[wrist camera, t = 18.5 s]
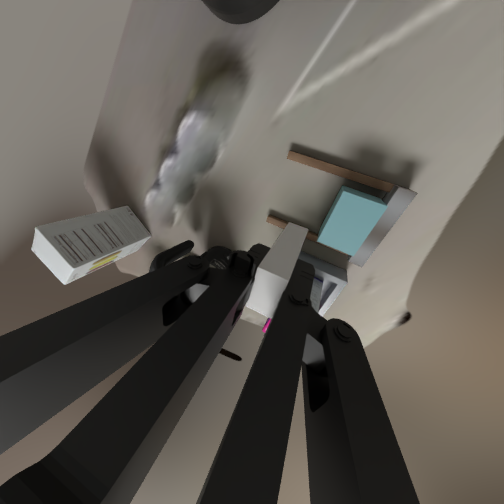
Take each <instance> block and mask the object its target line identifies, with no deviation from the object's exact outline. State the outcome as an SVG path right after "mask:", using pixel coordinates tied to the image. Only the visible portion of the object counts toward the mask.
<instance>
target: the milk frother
mask: <svg viewBox="0 0 504 504" xmlns="http://www.w3.org/2000/svg"><path fill="white" fill-rule="evenodd" d="M193 247H194V242H192V241H190V240H187V241H185V242H183V243H181V244H178V245H176V246H174V247H172V248H170V249H168V250H166V251H164V252H162V253H160V254H158V255H157V256H156V257H155V258H154V260H153V261H152V263H151V266H150V270H149V273H150V272H152V271H154V270H157V269H159V268H161V267H164V266H166V265H168V264H170V263H172V262H174V261H175V260H177V259H178V258H180V257H182V256H184V255H185V254H187V253H189V252H190V251H191V250H192V248H193ZM230 253H231V251H230V250H228V249H226V248H224V247H218V246H217V247H212V248H210V249H209V250H208V251H207V252H205V253H203V254H202V255H201V256H202V257H204V258H206V259H207V260H208V261H209V264H210V267H214V268H218V269H226V268H227V267H228V261H229V256H230Z"/></svg>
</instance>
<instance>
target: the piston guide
mask: <svg viewBox="0 0 504 504" xmlns="http://www.w3.org/2000/svg"><path fill="white" fill-rule="evenodd" d="M287 159H290V160H293V161H296V162H299V163H302V164H305V165H308V166H311V167H314V168H317V169H320V170H323V171H326V172H329V173H332V174H335V175H338V176H341V177H344V178H347V179H350V180H353V181H356V182H359V183H362V184H365V185H368V186H371V187H374V188H377V189H380V190H383V191H386V192H387V193H386V195H385V196H384V198H383V199H382V201H383V202H384V203H385V204H386V205H387V206H388V207H387V209H386V210H385V212H384V213H383V215H382V216H381V217H380V219H379V220H378V222H377V223H376V225H375V226H374V228H373V229H372V230H371V232H370V233H369V235H368V236H367V238H366V239H365V241H364V242H363V243H362V245H361V246H360V248H359V249H358V251H357V252H356V254H355V255H354V256H351V255H349V254H346V253H344V252H342V251H339V250H337V249H334V248H332V247H330V246H327V245H325V244H322V243H320V242H317V239H318V234H316V233H313V232H311V231H309V230H308V232H307V235H306V238H307V239H309V240H312V241H314V242H316V243H319V244H321V245H324V246H326V247H328V248H331V249H333V250H336V251H338V252H340V253H343V254H345V255H348V262H350V263H353V264H355V265H358V266H360V267H363V265H364V264H365V263H366V261H367V260H368V259H369V257H370V256H371V255H372V253H373V252H374V251H375V249H376V248H377V247H378V245H379V244H380V243H381V241H382V240H383V239H384V237H385V236H386V235H387V233H388V232H389V231H390V229H391V228H392V227H393V225H394V224H395V223H396V221H397V220H398V219H399V217H400V216H401V215H402V213H403V212H404V211H405V209H406V208H407V207H408V205H409V204H410V203H411V201H412V200H413V199H414V197H415V196H416V195H417V193H416V192H414V191H412V190H410V189H407V188H404V187H401V186H398V185H395V184H392V183H389V182H386V181H383V180H379V179H376V178H373V177H370V176H367V175H364V174H361V173H358V172H355V171H352V170H349V169H345V168H342V167H339V166H336V165H333V164H330V163H327V162H324V161H321V160H318V159H315V158H311V157H308V156H305V155H302V154H299V153H296V152H293V151H289V153H288V156H287ZM266 222H268V223H271V224H273V225H276V226H278V227H280V228H283V229H285V227H286V226H287V224H288V223H289V222H286V221H284V220H282V219H279V218H277V217H274V216H272V215H269V216H268V217H267V220H266Z"/></svg>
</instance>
